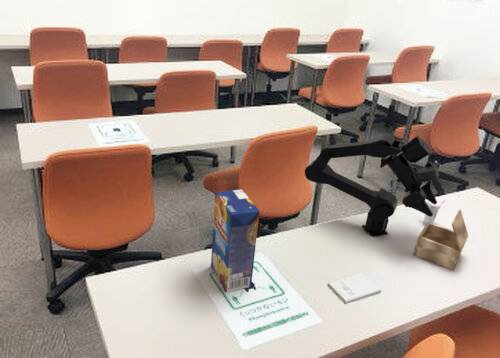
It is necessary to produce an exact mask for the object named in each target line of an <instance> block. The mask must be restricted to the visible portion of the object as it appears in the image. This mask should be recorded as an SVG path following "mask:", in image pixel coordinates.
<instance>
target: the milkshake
mask: <svg viewBox="0 0 500 358" xmlns="http://www.w3.org/2000/svg"><path fill="white" fill-rule="evenodd" d="M436 201H437V204H435V205H434V204H433V203H431V202H430V201H428V200H427V201H426V203H427V204H428V206H429V208H430V210H431V211H432V213H433V216H431V217H430V216H428V215H426V214H424V218H423V224H424V225H426V224H427V222H429V223H431V224H435V223H434V222H435V220H436V217H437V215H438V213H439V211H440V209H441V206H442V205H443V203H444V202H445V199H444V200H443V201H442V202H441V203H440V201H438V200H437V199H436Z"/></svg>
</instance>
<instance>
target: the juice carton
mask: <svg viewBox="0 0 500 358" xmlns="http://www.w3.org/2000/svg"><path fill="white" fill-rule="evenodd" d="M214 194H215V195H214V206H213V207H214V208H213V209H214V211H213V224H212V238H211V239H212V241H211V258H210V259H211V260H210V267H211V269H212V270H213V272H214V274H215V276H216V278H217V280H218V282H219V284H220V285H221V288H222V289H223V290H224V292H225V293H228V292H233V291H238V290H241V289H242V290H243V289H248V288H251V287H252V281H253V280H252V279H253V274H254V273H253V271H254V264H255V262H254V261H255V255H256V254H255V253H256V248H257V247H256V246H257V245H256V244H257V236H258V227H259V219H260V210H259V208H258V207H257V206H256V205H255V204H254V202H253V201H252V199H250V197H249V196H248V195H247V193H245V191H244V190H243V189H242V188H240V189H238V188H237V189H231V190H230V189H229V190H222V191H215V192H214Z"/></svg>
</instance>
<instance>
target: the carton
mask: <svg viewBox="0 0 500 358" xmlns="http://www.w3.org/2000/svg"><path fill="white" fill-rule="evenodd" d="M424 225H425V226H424V227H423V229H422V230H421V232H420V233H419V235H418V237H417V240H416V244H415V247H414V254H413V256H415V257H417V258H419V259H423V260H425V261H427V262H430V263H433V264H435V265H438V266H440V267H444V268H446V269H448V270H450V271H454V269H455V267H456V264H457V263H458V260H459V258H460V256H461V254H462V251H460V250H459V247H458V244H457V240H456V237H455V234H454V230H453V229H450V228H447V227H444V226H441V225H437V224H435V223H433V224H431V223H429V222H427V224H424Z"/></svg>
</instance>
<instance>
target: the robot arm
mask: <svg viewBox="0 0 500 358" xmlns="http://www.w3.org/2000/svg"><path fill="white" fill-rule="evenodd" d="M430 154H432V149H431V147H430V145H429V143H428V142H427V141H425V140H424V139H423V138H421V137H419V135H418V134H417V135H415V136H413V137H412V138H411V139H410V140H408V141H407V142H404V141H401V140H398V139H394V137H392V136H391V135H389V134H381V135H380V136H379V135H378V136H376V137H373V138H371V139H368V140H364V141H358V142H356V141H355V142H349V143H340V144H339V143H338V144H327V145H326V146H324V147H323V148H322V150H321V152H320V153H319V154H318V156H317V157H316V159H314V160H313V161H311V162H310V163H309V164H308V165H307V166H306V168H305V169H304V176H305V178H306V179H307V181H310V182H313V183H317V184H321V185H329V186H331V187H332V188H335V189H337V190H339V191H341V192H342V193H345V194H347V195H349V196H350V197H353V198H355V199H357V200H359V201H360V202H363V203H365V204H366V205H367V206H368V207H369V208H370V209H369V210H368V211H367V217H366V219H365V224H362V225H361V227H362V228H363V230H364V231H365V232H366V233H368V235H369V236H371V237H379V236H386V235H388V233H389V232H388V231H387V228H388V224H389V221H390V220H389V217H391V216H393V215H394V213H395V211H396V209H397V207H398V204H399V203H398V198H397V197H396V196H395V195H394V194H393V192H392V191H387V190H386V189H385V188H383V187H381V188H380V189H379V190H373V189H370V188H368V187H366V186H365V185H362V184H360V183H358V182H356V181H354V180H352V179H350V178H347V177H346V176H343V175H341V174H339V173H337V172H335V170H334V169H333V168H332V167H331V166H330V165H329V162H330V161H331V159H338V158H339V159H340V158H348V157H349V158H351V157H358V156H368V157H372V158H378V159H379V158H381V159H380V165H379V168H381V169H382V168H384V167H385V166H387V168H389V169H390V171H391V172H392V173H393V174H394V176H395V177H396V182H397V183H398V184H399V183H401V185H402V186H403V188H404V192H405V193H404V196H403V197H402V204H403V205H404V206H405V208H409V209H410V208H412V209H413V210H415V211H418V212H420V213H422V214H424V215H425V214H426V215H428V216H430V217H431V216H433V213H432V211H431V210H430V208H429V206H428V204H427V202H428V201H430V202H431V203H433V204H434V205H435V204H437V201H438V200H437V198H436V197H435V194H434V191H433V189H432V183H433V182H432V181H437V180H438V179H439V176H440V173H439V170H438V169H439V167H438V166H437V164H435V163H433V162H432V161H431V160H430V161H427V162H426V163H425V166H423V167H422V168H418V166H415V165H414V166H412V163H413V164H416V163H418V162H420V161H421V160H422V159H425V157H428V156H429V155H430ZM426 200H427V201H426ZM436 200H437V201H436Z"/></svg>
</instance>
